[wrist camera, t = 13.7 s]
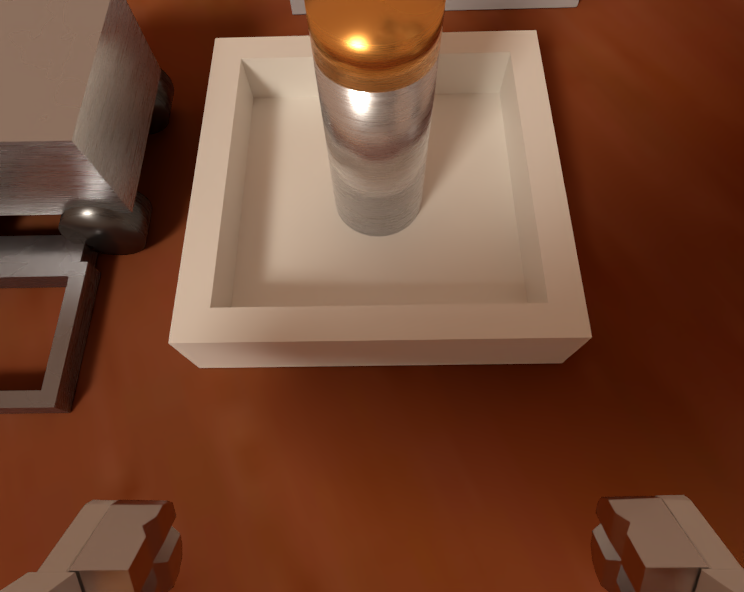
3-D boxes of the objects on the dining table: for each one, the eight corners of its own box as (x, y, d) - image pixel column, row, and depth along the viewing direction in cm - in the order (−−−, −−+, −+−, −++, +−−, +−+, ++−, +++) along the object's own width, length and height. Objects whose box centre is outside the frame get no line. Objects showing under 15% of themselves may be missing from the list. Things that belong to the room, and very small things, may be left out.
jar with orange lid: (419, 162, 22) (441, -56, 13) (423, 235, 20) (451, 42, 12) (336, 164, 22) (307, -52, 13) (334, 237, 20) (300, 45, 12)
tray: (518, 85, 24) (536, 29, 21) (562, 363, 19) (592, 337, 16) (234, 91, 24) (215, 38, 22) (199, 368, 19) (168, 343, 16)
